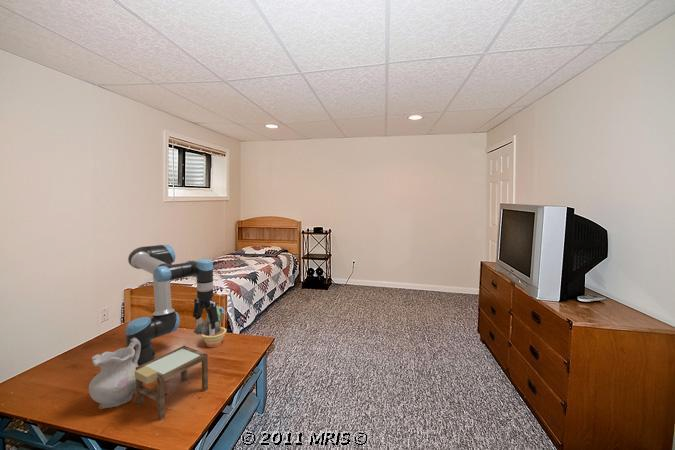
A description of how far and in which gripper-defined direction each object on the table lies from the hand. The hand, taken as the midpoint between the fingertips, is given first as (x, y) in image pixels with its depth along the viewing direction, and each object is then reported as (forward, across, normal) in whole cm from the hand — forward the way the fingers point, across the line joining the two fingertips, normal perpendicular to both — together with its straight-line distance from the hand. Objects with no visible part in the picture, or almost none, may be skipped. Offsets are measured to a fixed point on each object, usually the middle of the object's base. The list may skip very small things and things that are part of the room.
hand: (205, 332), depth 146 cm
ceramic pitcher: (+24, -20, -30) cm, 43 cm away
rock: (+1, 0, 0) cm, 1 cm away
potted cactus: (+24, -26, +26) cm, 44 cm away
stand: (+23, +1, -18) cm, 29 cm away
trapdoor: (+8, +1, -20) cm, 22 cm away
